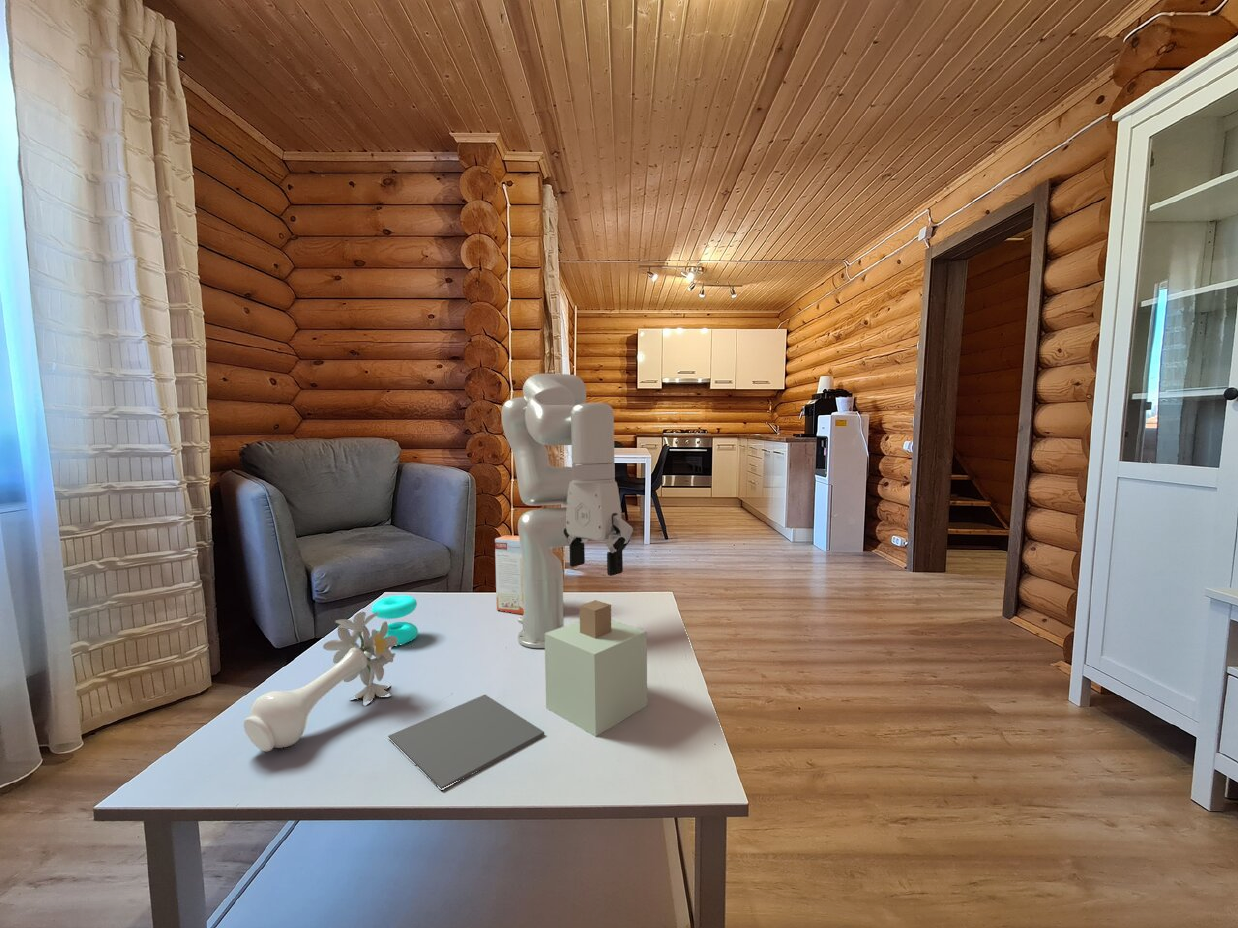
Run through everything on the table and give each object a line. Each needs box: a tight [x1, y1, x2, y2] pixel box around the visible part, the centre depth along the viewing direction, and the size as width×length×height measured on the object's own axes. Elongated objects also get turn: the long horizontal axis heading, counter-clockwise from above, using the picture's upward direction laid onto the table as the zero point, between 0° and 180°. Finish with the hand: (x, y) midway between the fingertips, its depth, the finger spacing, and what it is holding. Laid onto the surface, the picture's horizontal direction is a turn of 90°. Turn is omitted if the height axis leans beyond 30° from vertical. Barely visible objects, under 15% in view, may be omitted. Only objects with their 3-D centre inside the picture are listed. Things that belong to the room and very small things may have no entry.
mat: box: [387, 694, 545, 789], centre depth 84 cm, size 18×18×1 cm
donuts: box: [371, 594, 419, 645], centre depth 124 cm, size 10×10×10 cm
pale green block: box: [544, 599, 648, 738], centre depth 92 cm, size 13×13×19 cm
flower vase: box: [243, 611, 398, 752], centre depth 90 cm, size 13×18×25 cm
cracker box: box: [494, 535, 524, 615], centre depth 143 cm, size 14×6×21 cm, turn 65°
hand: (595, 569), depth 91 cm, fingers open, 9 cm apart
